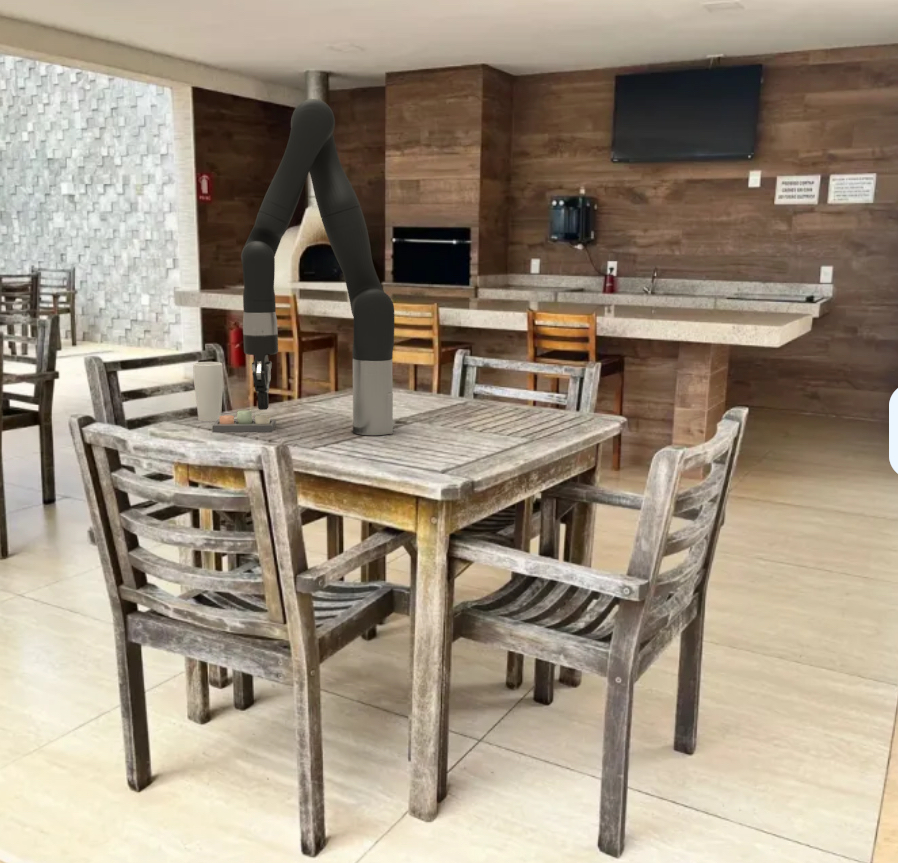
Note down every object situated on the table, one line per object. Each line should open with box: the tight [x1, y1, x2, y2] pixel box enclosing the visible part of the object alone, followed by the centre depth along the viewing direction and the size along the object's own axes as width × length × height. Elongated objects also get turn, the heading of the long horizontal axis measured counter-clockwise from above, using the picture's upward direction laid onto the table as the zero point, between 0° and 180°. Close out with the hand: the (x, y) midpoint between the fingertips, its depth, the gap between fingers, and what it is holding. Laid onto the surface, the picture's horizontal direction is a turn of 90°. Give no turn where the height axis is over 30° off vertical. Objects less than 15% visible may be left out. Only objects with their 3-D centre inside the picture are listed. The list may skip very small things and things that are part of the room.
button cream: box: [254, 414, 271, 424], centre depth 203 cm, size 3×3×4 cm
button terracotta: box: [219, 414, 235, 424], centre depth 203 cm, size 3×3×4 cm
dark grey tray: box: [212, 418, 276, 433], centre depth 203 cm, size 13×8×3 cm, turn 95°
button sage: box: [236, 409, 253, 424], centre depth 203 cm, size 3×3×4 cm
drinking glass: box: [192, 361, 224, 422], centre depth 213 cm, size 7×7×15 cm
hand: (263, 409), depth 203 cm, fingers closed
